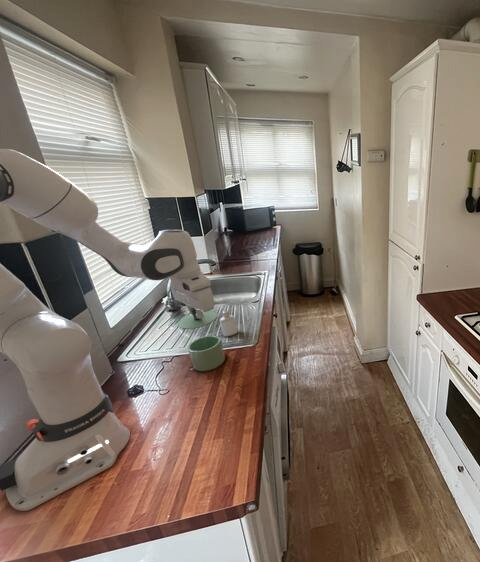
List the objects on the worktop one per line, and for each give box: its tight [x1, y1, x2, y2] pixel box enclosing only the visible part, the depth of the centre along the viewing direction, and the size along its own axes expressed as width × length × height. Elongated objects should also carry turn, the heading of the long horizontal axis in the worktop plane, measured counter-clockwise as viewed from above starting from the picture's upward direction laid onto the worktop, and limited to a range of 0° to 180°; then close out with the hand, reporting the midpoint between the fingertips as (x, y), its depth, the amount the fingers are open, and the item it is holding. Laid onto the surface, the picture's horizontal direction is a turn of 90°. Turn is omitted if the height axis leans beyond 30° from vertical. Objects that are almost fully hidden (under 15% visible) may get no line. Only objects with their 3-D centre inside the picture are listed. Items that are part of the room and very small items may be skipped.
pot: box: [187, 334, 226, 372], centre depth 110 cm, size 10×10×8 cm
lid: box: [177, 308, 219, 330], centre depth 104 cm, size 12×12×5 cm
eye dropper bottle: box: [219, 307, 238, 337], centre depth 128 cm, size 4×6×12 cm
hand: (197, 316), depth 104 cm, fingers closed on lid, 2 cm apart
